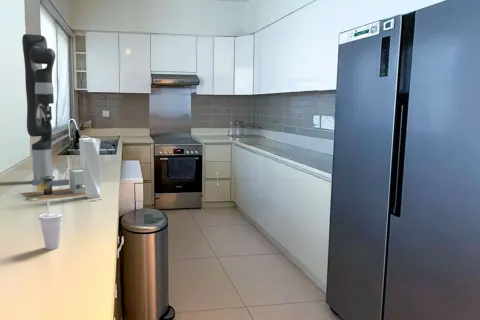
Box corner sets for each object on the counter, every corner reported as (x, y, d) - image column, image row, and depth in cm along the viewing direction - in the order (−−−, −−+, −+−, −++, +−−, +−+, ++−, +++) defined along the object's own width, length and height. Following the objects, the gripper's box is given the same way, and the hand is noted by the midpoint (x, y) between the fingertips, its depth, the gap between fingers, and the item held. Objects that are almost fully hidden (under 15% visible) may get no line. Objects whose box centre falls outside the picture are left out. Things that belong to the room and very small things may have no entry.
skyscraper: (85, 202, 186) (82, 136, 182) (82, 198, 192) (79, 134, 188) (104, 200, 189) (101, 135, 185) (101, 196, 196) (98, 134, 192)
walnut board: (21, 195, 198) (20, 192, 198) (75, 189, 211) (75, 187, 211) (29, 204, 181) (29, 201, 181) (88, 197, 194) (88, 194, 194)
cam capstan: (20, 198, 186) (18, 180, 185) (34, 191, 200) (33, 175, 199) (59, 197, 187) (58, 180, 186) (70, 190, 201) (69, 175, 200)
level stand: (70, 190, 203) (69, 169, 202) (79, 189, 206) (78, 168, 204) (76, 194, 195) (75, 172, 194) (86, 193, 197) (85, 171, 196)
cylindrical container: (100, 190, 209) (98, 138, 206) (89, 193, 203) (87, 139, 199) (89, 189, 212) (87, 137, 209) (78, 192, 206) (75, 138, 202)
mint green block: (33, 198, 187) (33, 197, 187) (38, 198, 186) (38, 197, 186) (28, 199, 184) (28, 199, 184) (33, 200, 183) (33, 199, 183)
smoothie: (45, 244, 131) (42, 198, 129) (67, 243, 132) (64, 198, 130) (37, 251, 125) (34, 203, 123) (60, 250, 125) (57, 203, 124)
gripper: (32, 92, 202) (34, 128, 205) (38, 92, 191) (40, 130, 193) (49, 93, 207) (51, 127, 209) (56, 93, 195) (58, 129, 197)
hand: (46, 128), depth 201 cm, fingers open, 8 cm apart
